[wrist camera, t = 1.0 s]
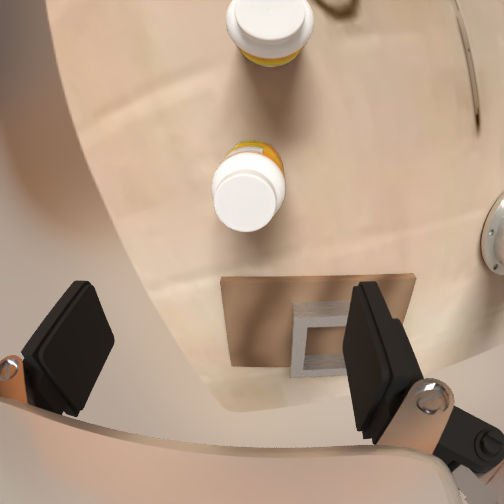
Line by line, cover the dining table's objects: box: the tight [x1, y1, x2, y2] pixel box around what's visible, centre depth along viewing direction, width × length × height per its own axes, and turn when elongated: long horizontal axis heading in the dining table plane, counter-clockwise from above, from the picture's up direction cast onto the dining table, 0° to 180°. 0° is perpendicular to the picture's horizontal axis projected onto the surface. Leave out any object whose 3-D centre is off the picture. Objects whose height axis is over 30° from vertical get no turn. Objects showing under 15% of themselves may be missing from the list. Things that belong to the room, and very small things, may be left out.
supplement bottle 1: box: [226, 0, 314, 67], centre depth 17 cm, size 6×6×10 cm
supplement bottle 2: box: [211, 140, 286, 232], centre depth 24 cm, size 5×5×10 cm
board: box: [220, 274, 416, 367], centre depth 36 cm, size 22×14×1 cm, turn 92°
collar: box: [290, 301, 351, 378], centre depth 35 cm, size 10×10×2 cm
